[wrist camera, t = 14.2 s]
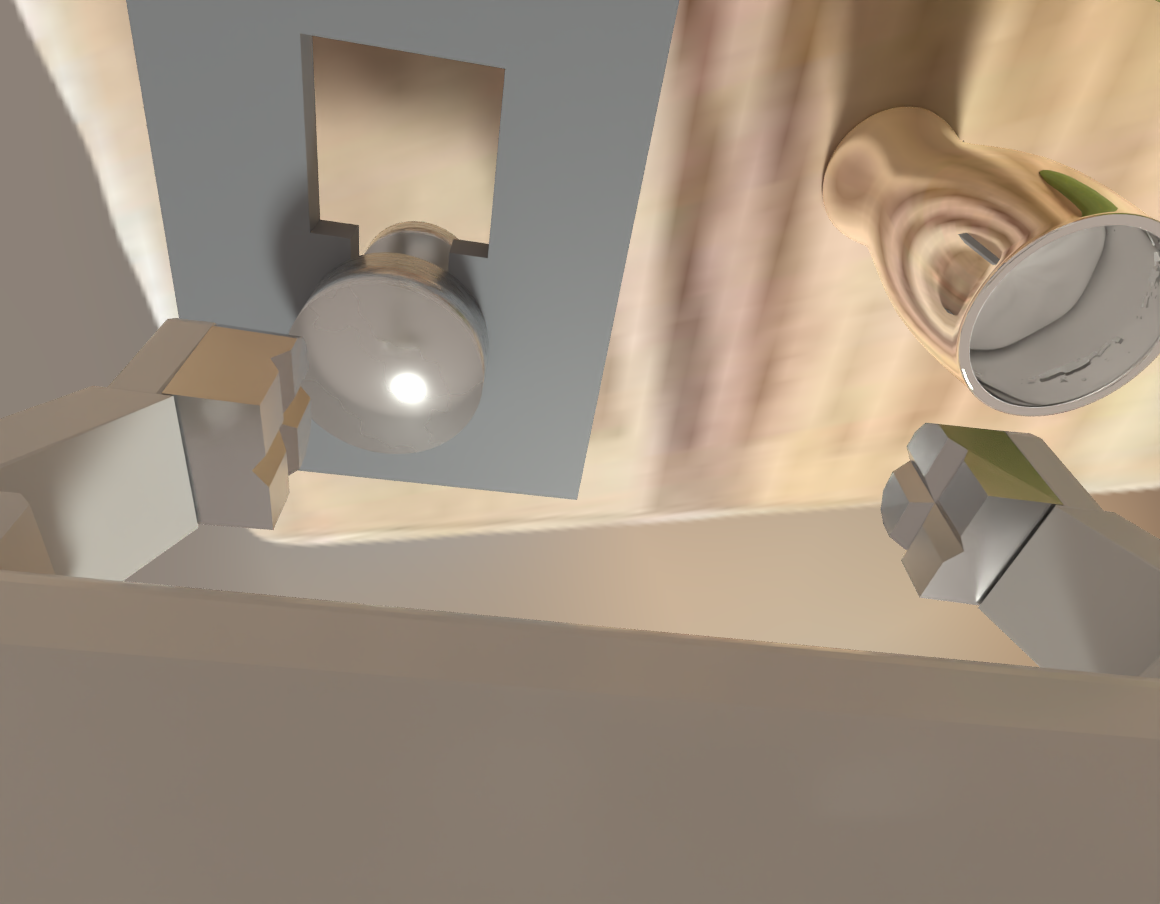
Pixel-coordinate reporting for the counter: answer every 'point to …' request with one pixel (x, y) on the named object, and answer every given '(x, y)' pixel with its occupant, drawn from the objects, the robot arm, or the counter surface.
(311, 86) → the keyhole stand
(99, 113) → the counter surface
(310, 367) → the steel peg
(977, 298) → the beer glass
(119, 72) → the counter surface
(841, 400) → the counter surface
